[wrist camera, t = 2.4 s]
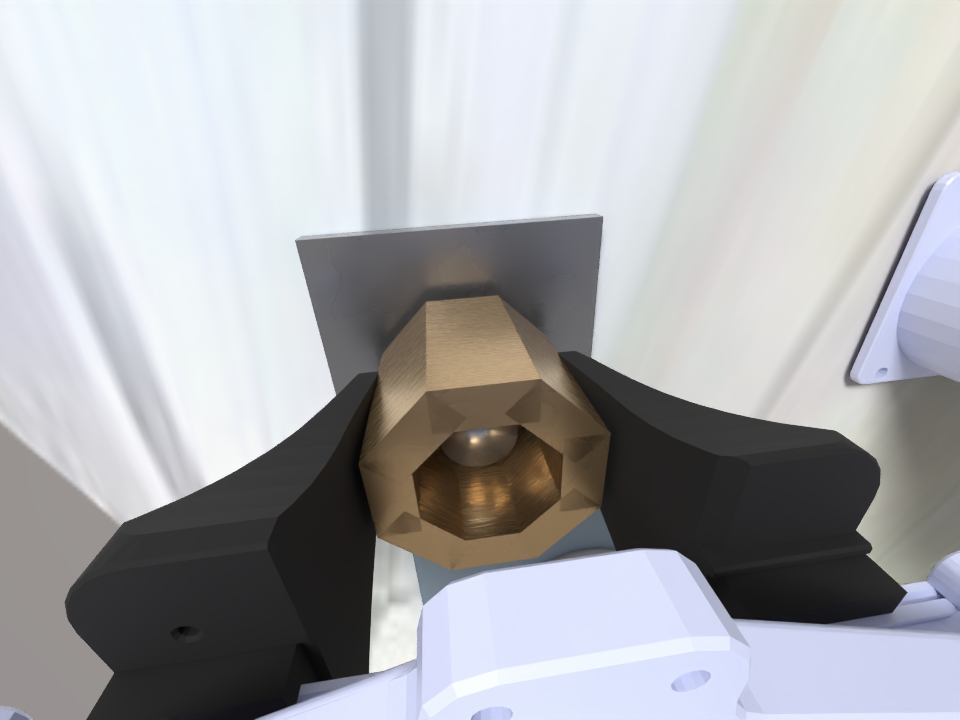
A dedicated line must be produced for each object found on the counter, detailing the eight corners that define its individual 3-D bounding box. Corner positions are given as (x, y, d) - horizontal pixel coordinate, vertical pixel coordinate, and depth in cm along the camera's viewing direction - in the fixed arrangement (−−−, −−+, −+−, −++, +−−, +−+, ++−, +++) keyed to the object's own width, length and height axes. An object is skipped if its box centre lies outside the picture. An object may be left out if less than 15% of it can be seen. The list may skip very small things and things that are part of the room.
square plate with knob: (595, 213, 12) (678, 242, 8) (577, 439, 17) (627, 531, 13) (301, 236, 12) (235, 280, 8) (360, 466, 16) (338, 573, 12)
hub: (750, 459, 19) (846, 549, 14) (691, 628, 25) (745, 724, 21) (406, 505, 17) (401, 620, 13) (439, 671, 24) (442, 783, 20)
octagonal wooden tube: (547, 290, 12) (618, 369, 8) (543, 428, 14) (596, 549, 10) (373, 306, 12) (342, 400, 7) (400, 445, 14) (388, 579, 10)
